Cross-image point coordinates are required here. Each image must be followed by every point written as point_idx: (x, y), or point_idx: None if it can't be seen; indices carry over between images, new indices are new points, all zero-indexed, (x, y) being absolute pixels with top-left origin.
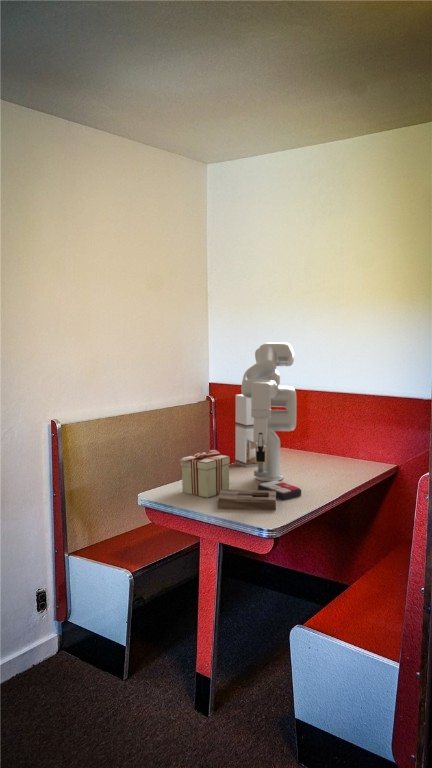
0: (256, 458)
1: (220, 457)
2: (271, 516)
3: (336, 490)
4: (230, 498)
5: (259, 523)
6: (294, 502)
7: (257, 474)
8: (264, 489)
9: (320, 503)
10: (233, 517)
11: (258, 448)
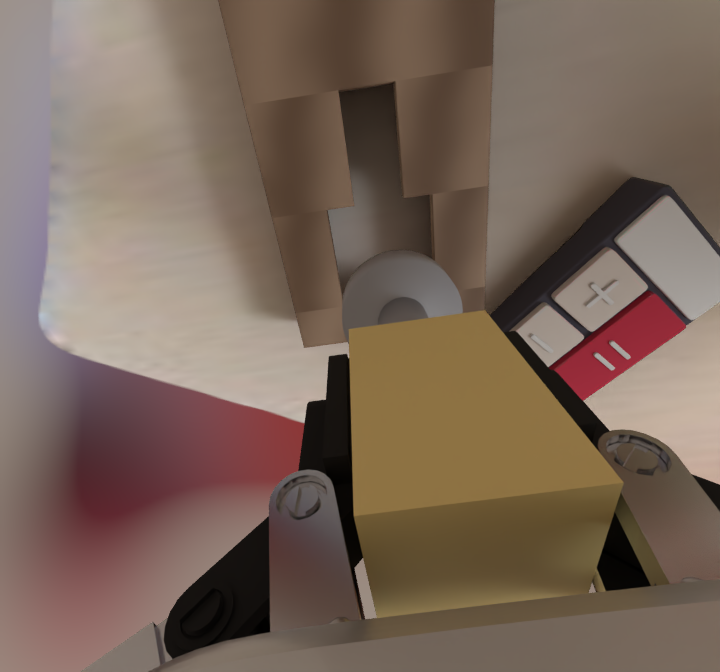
0: (328, 378)
1: None
2: (214, 317)
3: None
4: (240, 49)
5: (88, 284)
6: None
7: (346, 295)
8: (599, 233)
9: None
10: (102, 127)
11: (189, 589)
